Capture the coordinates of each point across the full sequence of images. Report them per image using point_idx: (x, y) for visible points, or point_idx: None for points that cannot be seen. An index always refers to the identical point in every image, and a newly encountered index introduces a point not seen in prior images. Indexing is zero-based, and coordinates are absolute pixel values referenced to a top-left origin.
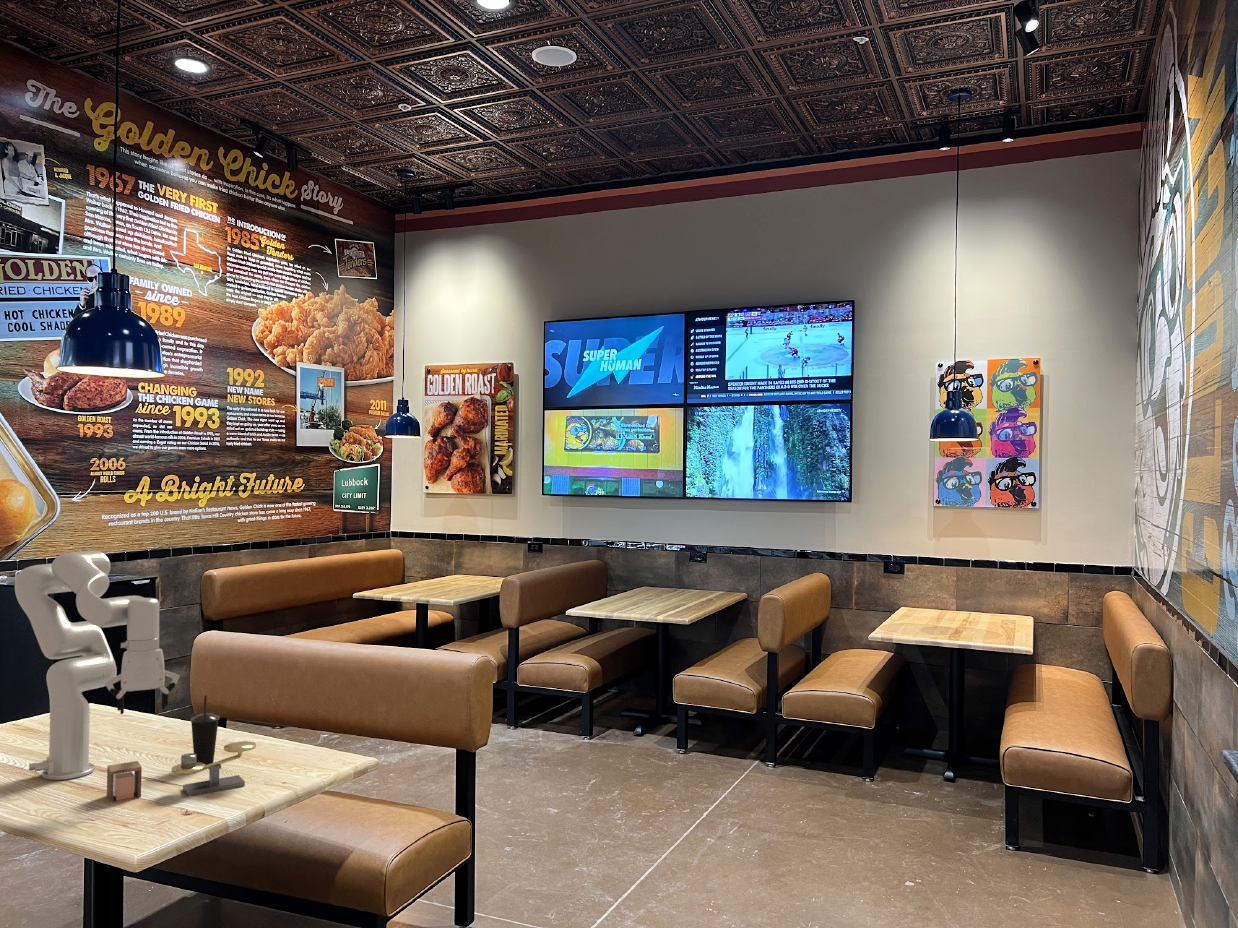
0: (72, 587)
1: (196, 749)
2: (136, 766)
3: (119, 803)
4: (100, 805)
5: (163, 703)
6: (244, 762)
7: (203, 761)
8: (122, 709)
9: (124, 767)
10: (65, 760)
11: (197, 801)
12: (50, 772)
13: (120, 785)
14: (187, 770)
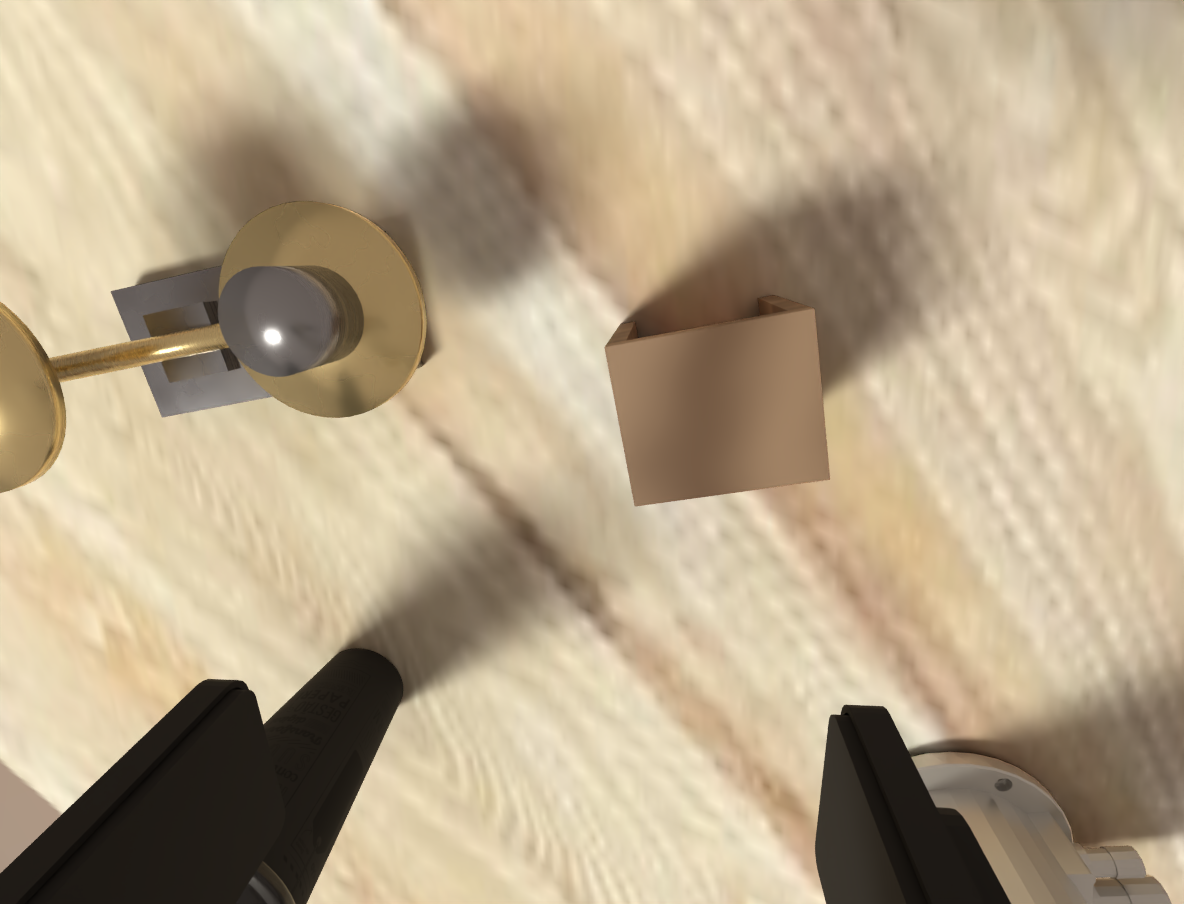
0: None
1: (348, 723)
2: (639, 369)
3: (726, 254)
4: (824, 261)
5: (152, 749)
6: (197, 652)
7: (346, 667)
8: (875, 757)
9: (718, 380)
10: (1010, 853)
11: (328, 109)
12: (1046, 820)
13: None
14: (314, 227)
